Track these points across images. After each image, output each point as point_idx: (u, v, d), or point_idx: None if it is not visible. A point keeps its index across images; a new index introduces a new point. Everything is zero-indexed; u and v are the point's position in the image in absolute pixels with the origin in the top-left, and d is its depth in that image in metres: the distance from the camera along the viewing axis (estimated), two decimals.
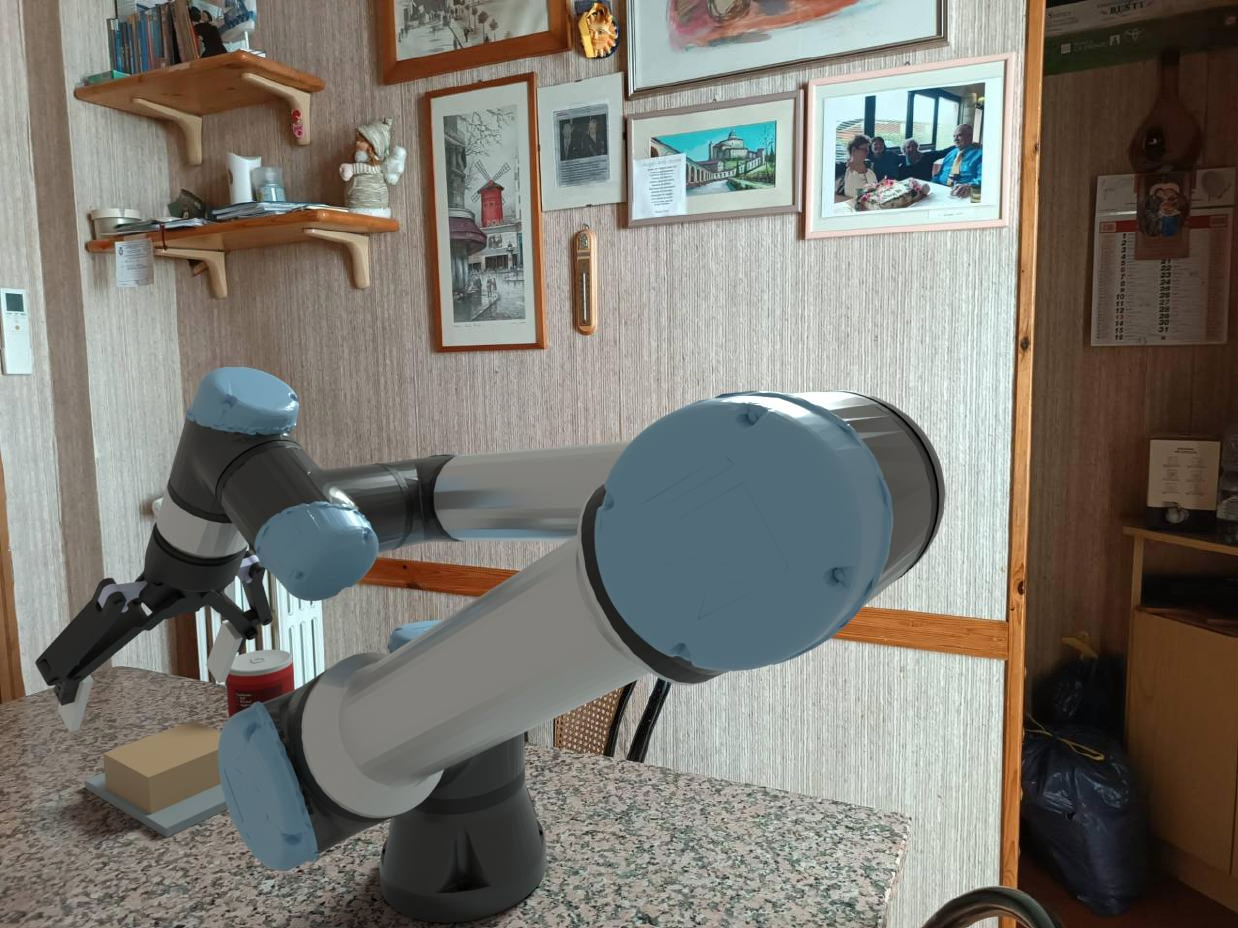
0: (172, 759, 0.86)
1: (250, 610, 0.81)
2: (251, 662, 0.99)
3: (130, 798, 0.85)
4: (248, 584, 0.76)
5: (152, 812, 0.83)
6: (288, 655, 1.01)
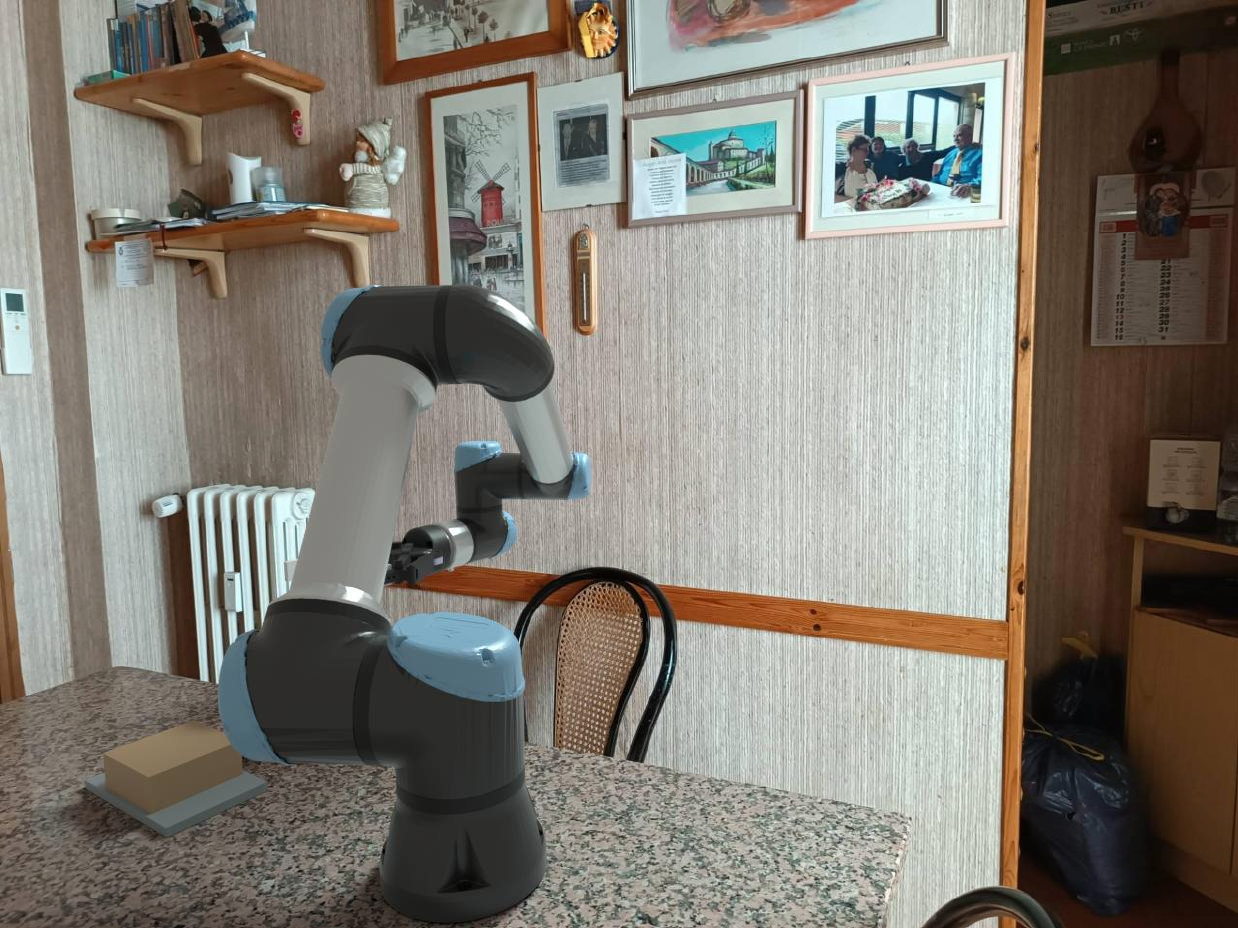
0: (172, 759, 0.86)
1: None
2: None
3: (130, 798, 0.85)
4: None
5: (152, 812, 0.83)
6: None
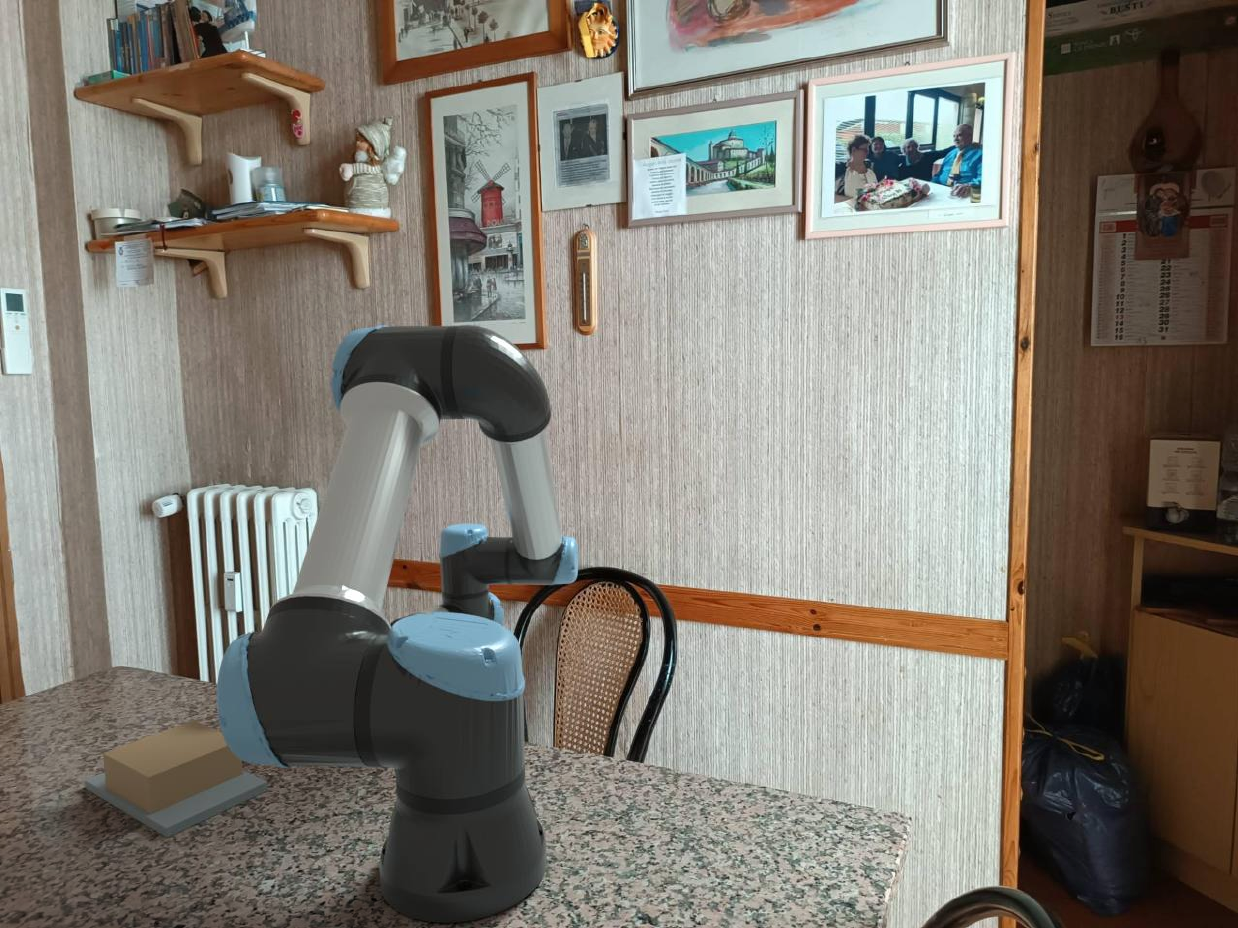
0: (172, 759, 0.86)
1: None
2: None
3: (130, 798, 0.85)
4: None
5: (152, 812, 0.83)
6: None
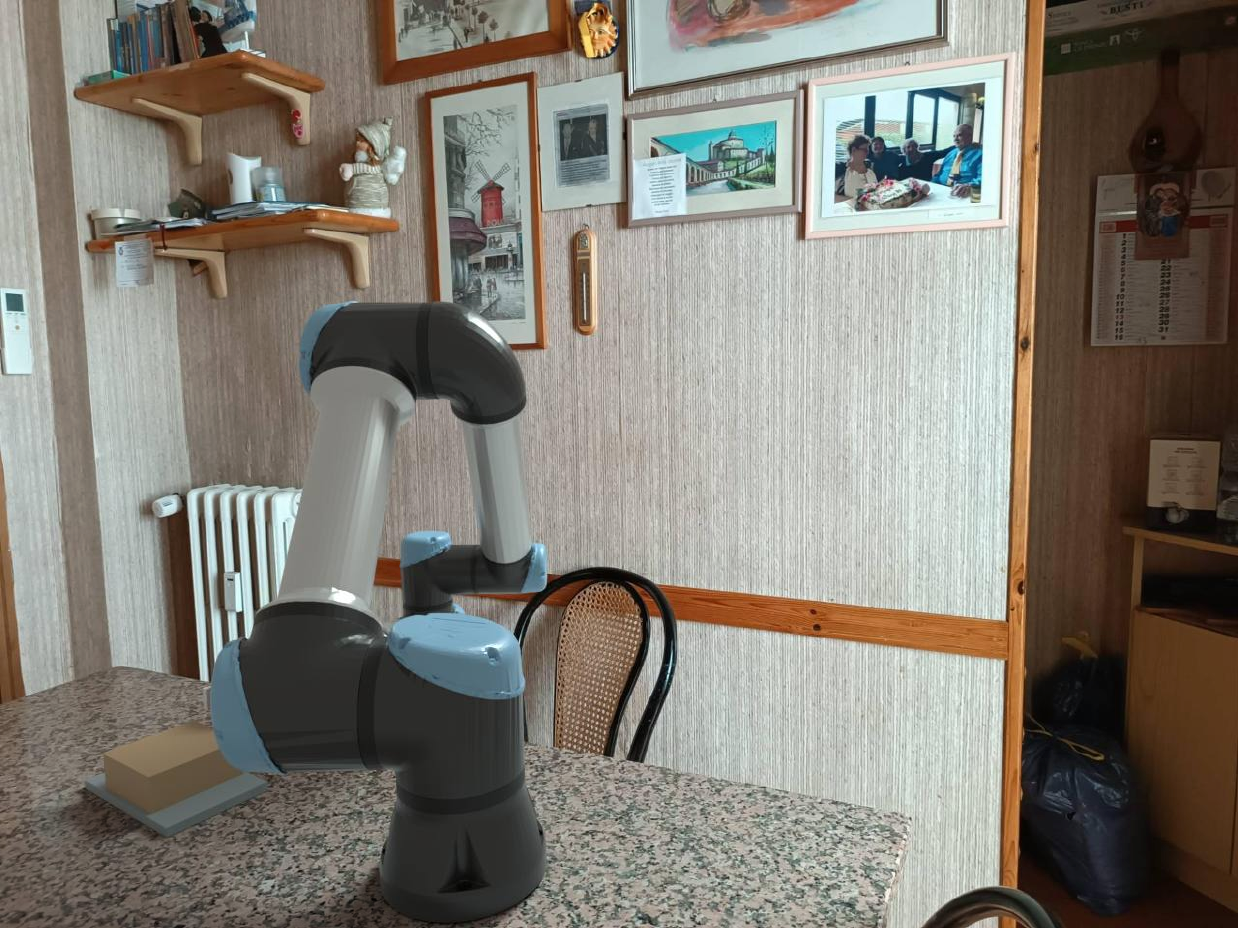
0: (172, 759, 0.86)
1: None
2: None
3: (130, 798, 0.85)
4: None
5: (152, 812, 0.83)
6: None
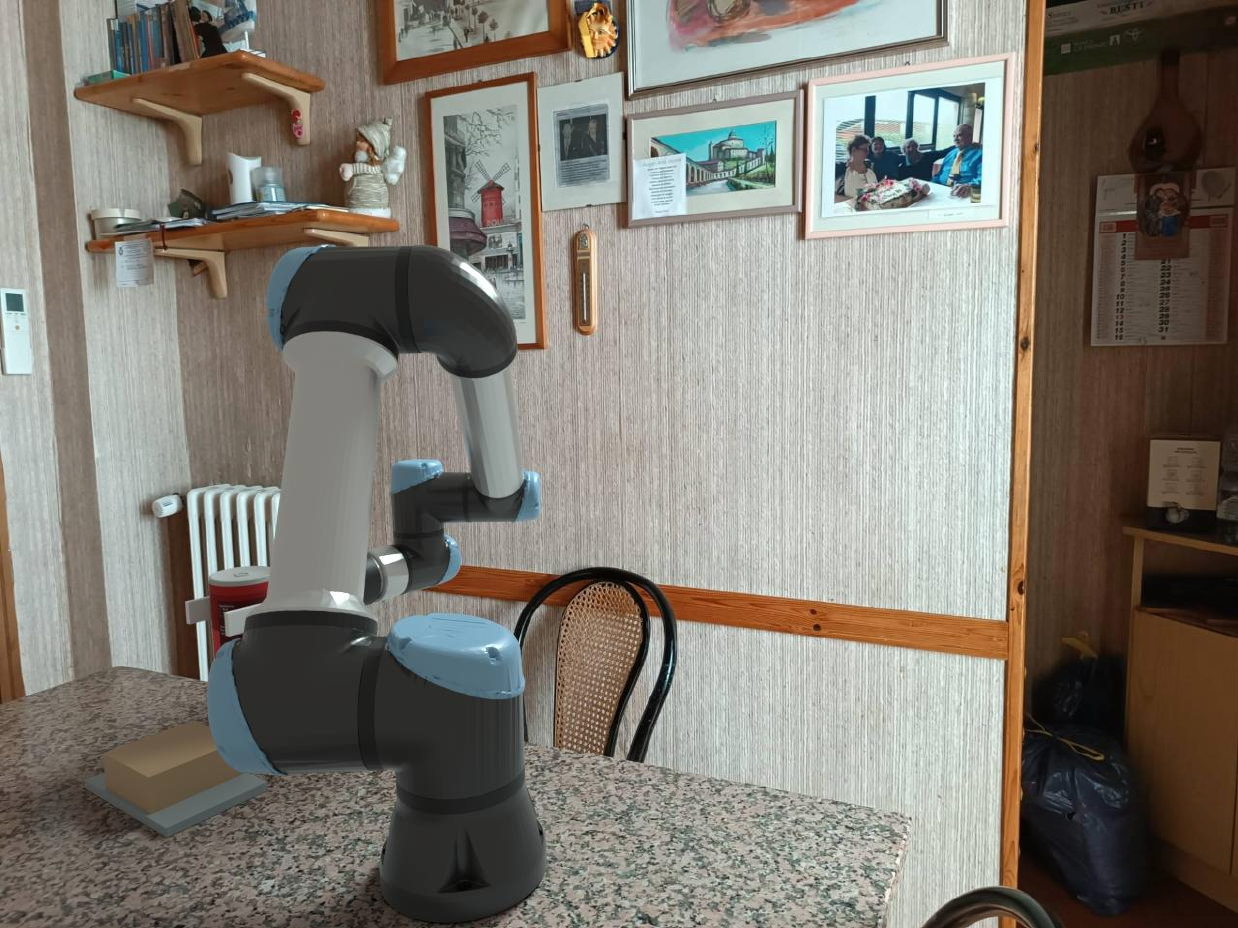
0: (172, 759, 0.86)
1: None
2: (235, 576, 0.97)
3: (130, 798, 0.85)
4: None
5: (152, 812, 0.83)
6: None
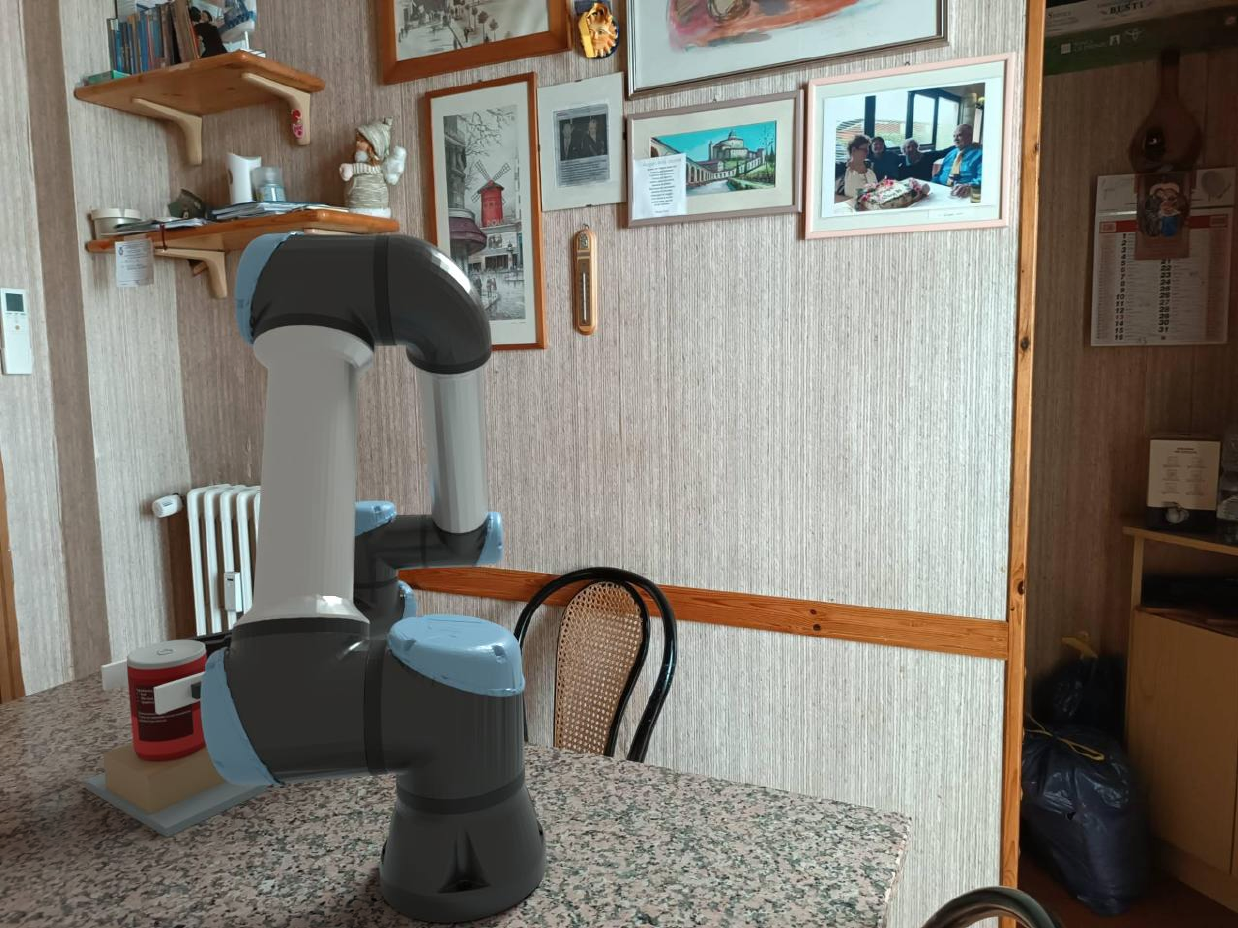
0: None
1: None
2: (157, 653, 0.88)
3: (130, 798, 0.85)
4: None
5: (152, 812, 0.83)
6: (201, 646, 0.89)
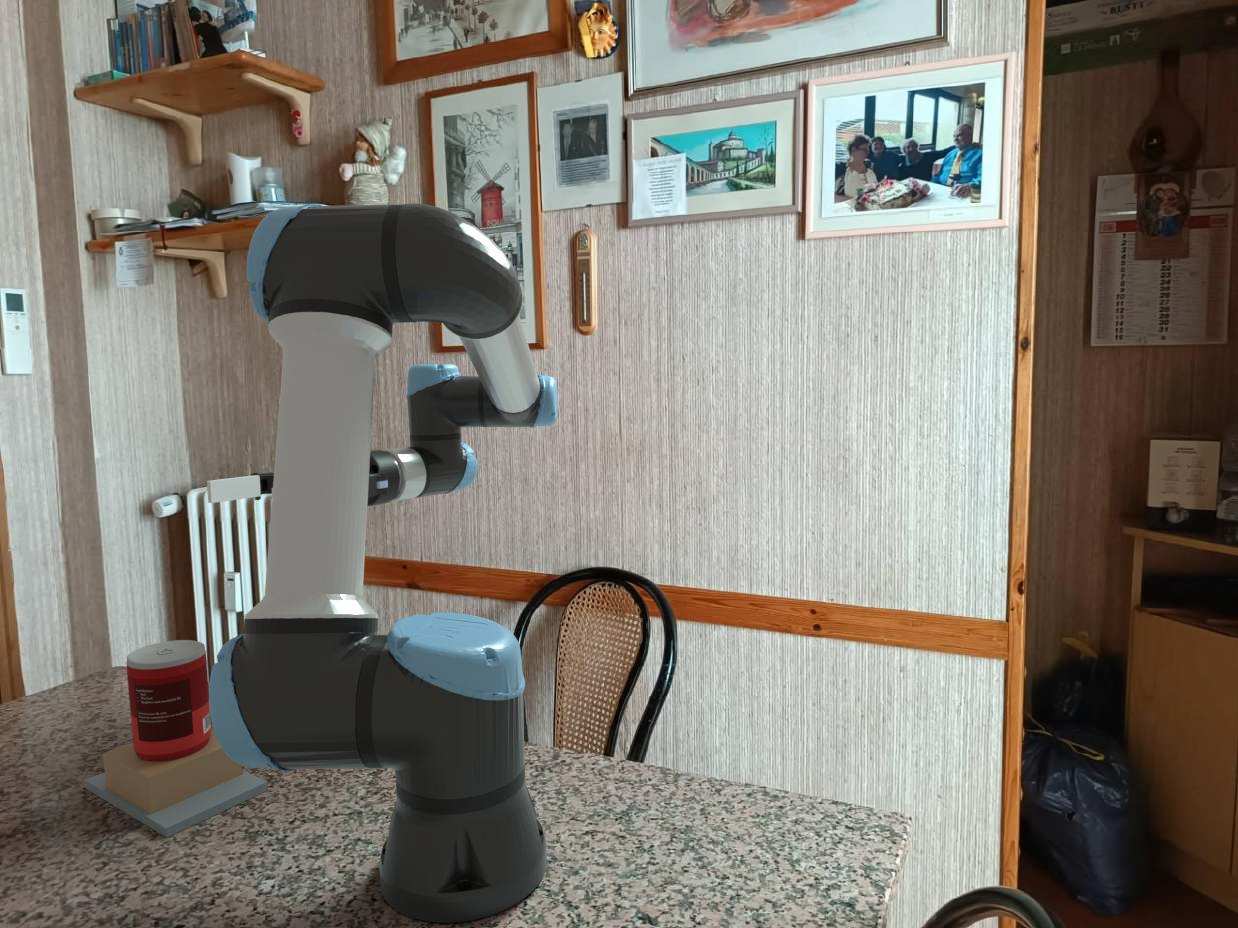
0: None
1: None
2: (157, 654, 0.88)
3: (130, 798, 0.85)
4: None
5: (152, 812, 0.83)
6: (200, 646, 0.89)
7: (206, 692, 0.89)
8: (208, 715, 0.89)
